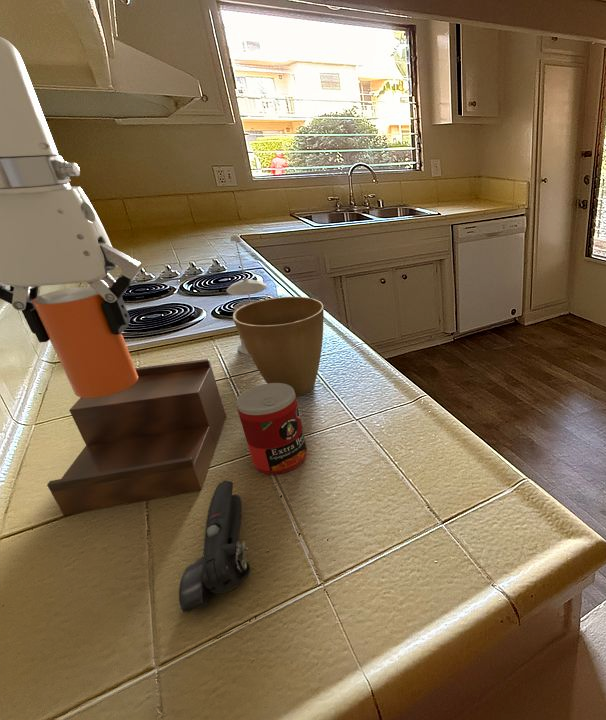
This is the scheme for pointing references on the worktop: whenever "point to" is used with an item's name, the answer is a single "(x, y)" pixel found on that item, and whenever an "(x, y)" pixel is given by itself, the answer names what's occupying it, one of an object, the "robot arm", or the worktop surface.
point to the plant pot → (283, 339)
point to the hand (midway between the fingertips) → (85, 332)
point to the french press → (245, 291)
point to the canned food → (272, 427)
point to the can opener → (216, 553)
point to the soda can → (86, 342)
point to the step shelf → (144, 439)
